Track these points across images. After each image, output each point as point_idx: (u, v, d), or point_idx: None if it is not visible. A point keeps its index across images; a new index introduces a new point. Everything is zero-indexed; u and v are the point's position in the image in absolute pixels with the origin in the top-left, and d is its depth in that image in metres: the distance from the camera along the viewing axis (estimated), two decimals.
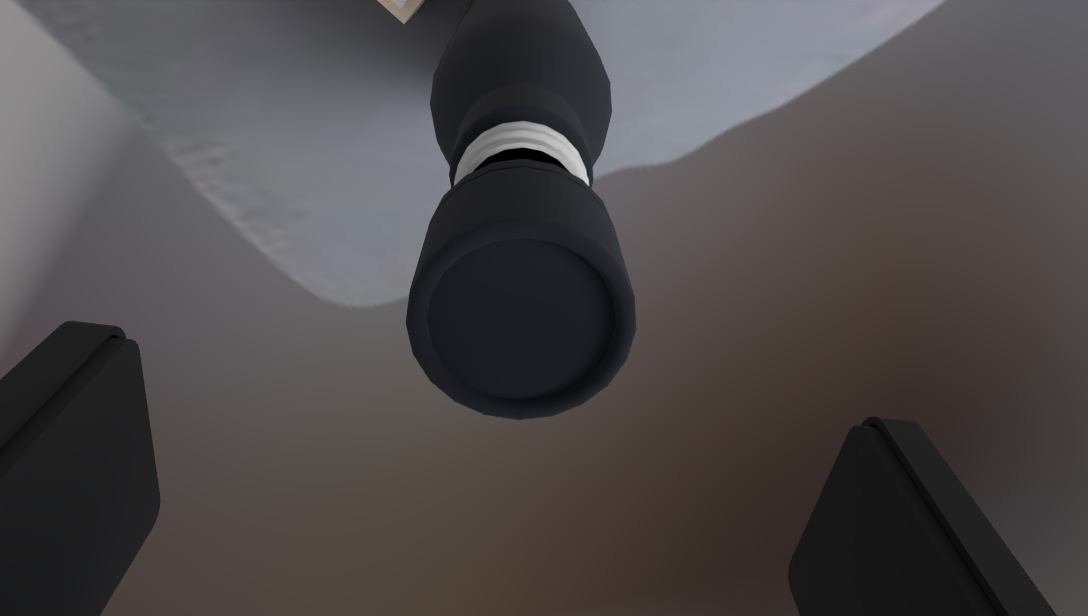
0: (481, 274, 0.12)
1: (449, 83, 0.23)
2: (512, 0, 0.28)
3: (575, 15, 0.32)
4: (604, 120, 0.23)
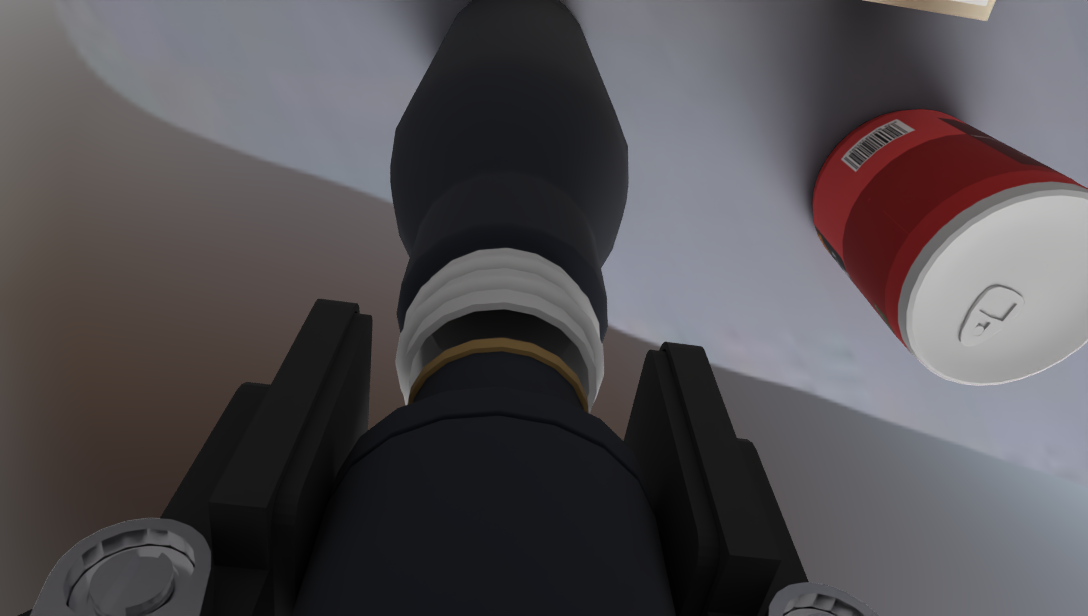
0: None
1: (502, 102, 0.16)
2: (593, 69, 0.22)
3: None
4: None
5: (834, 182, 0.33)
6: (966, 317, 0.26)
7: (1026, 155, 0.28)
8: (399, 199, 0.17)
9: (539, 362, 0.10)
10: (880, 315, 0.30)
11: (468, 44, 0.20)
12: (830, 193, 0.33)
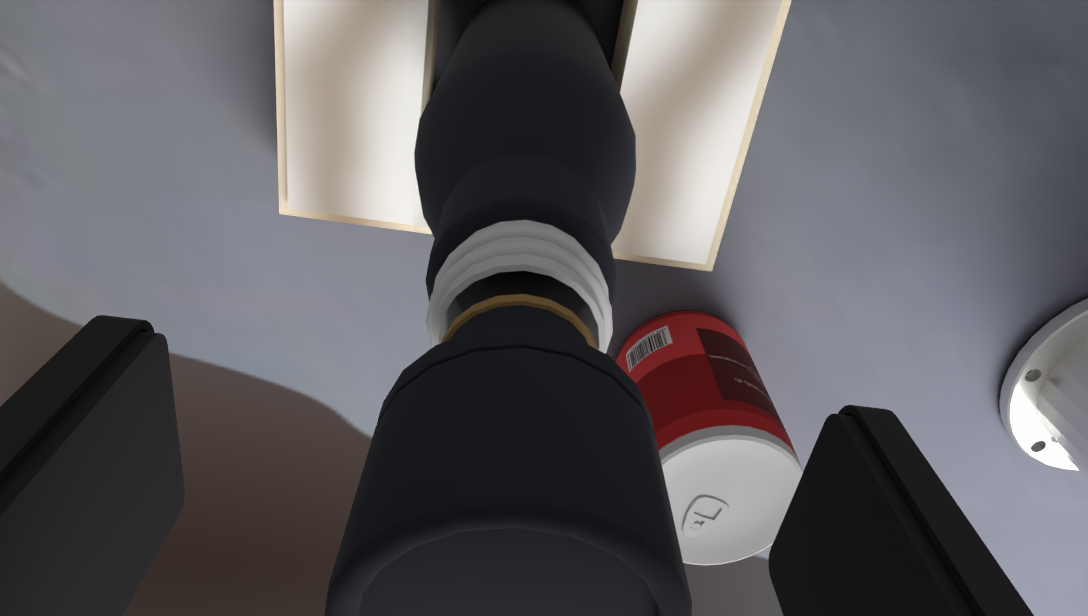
0: (546, 556, 0.07)
1: (520, 92, 0.17)
2: (603, 64, 0.23)
3: None
4: None
5: None
6: (685, 517, 0.33)
7: (742, 380, 0.34)
8: (424, 182, 0.18)
9: (556, 315, 0.11)
10: None
11: (487, 40, 0.22)
12: None
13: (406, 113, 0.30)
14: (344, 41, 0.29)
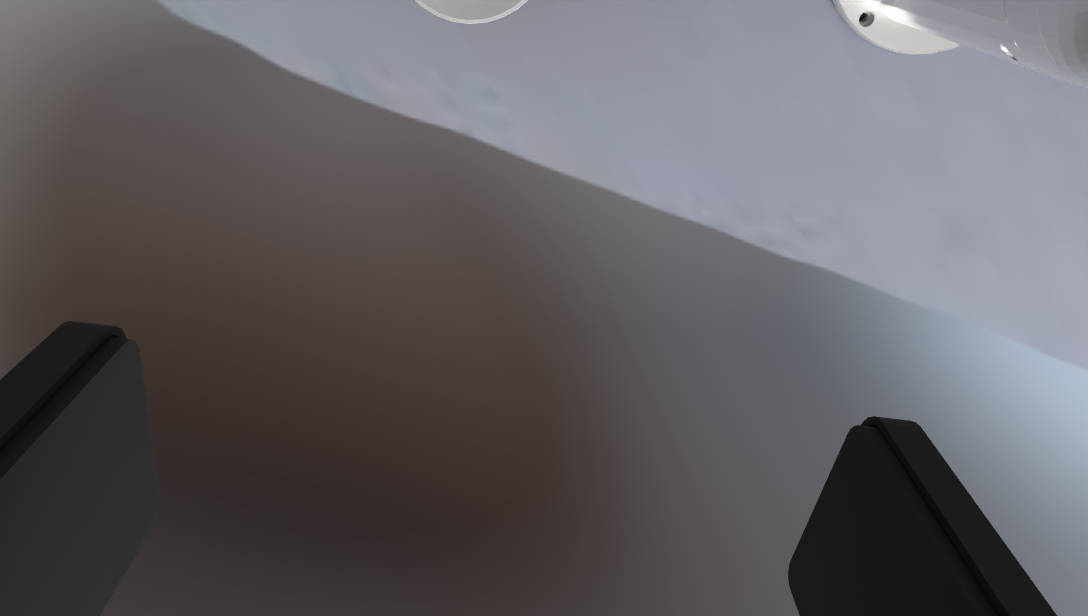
0: None
1: None
2: None
3: None
4: None
5: None
6: None
7: None
8: None
9: None
10: None
11: None
12: None
13: None
14: None
